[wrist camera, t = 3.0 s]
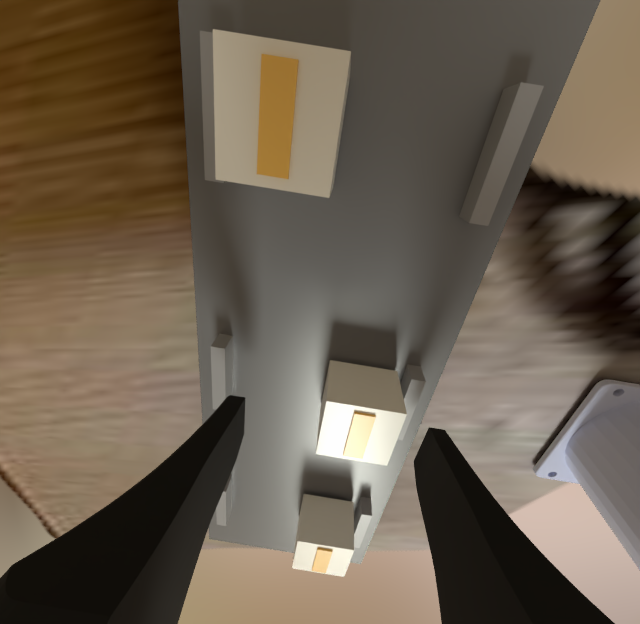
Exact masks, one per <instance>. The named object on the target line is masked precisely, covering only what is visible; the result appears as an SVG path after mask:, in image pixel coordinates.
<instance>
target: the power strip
mask: <svg viewBox="0 0 640 624" xmlns="http://www.w3.org/2000/svg"><path fill="white" fill-rule="evenodd" d="M599 2H600V0H178V9H179V26H180V43H181V60H182V77H183V95H184V112H185V129H186V146H187V163H188V181H189V198H190V215H191V232H192V249H193V267H194V284H195V301H196V318H197V335H198V352H199V370H200V387H201V404H202V421H203V424H204V423H205V421H206V420H207V419H208V418H209V417H210V416H211V415H212V414H213V413H214V412H215V410H216V409H217V408H218V407H219V406H220V405H221V404H222V402H223V401H224V400H225V399H226V397H227V396H229V395H233V396H239V397H245V425H244V436H243V439H242V443H241V446H240V450H239V453H238V456H237V459H236V462H235V464H234V467H233V469H232V472H231V474H230V476H229V479H228V481H227V484H226V486H225V488H224V491H223V493H222V496H221V498H220V500H219V503H218V505H217V507H216V510H215V512H214V515H213V517H212V519H211V522H210V525H209V539H213V540H219V541H225V542H231V543H237V544H243V545H249V546H255V547H261V548H267V549H273V550H280V551H285V552H291V553H294V550H295V542H296V535H297V527H298V520H299V515H300V510H301V505H302V500H303V495H304V494H308V495H314V496H320V497H326V498H332V499H339V500H345V501H351V502H353V503H354V553H353V555H352V558H351V560H350V562H352V563H358V564H361V562H362V560H363V558H364V555H365V553H366V551H367V548H368V546H369V544H370V541H371V539H372V537H373V534H374V532H375V530H376V527H377V525H378V522H379V520H380V518H381V515H382V513H383V511H384V508H385V506H386V504H387V501H388V499H389V497H390V494H391V492H392V490H393V487H394V485H395V482H396V480H397V478H398V475H399V473H400V471H401V468H402V466H403V464H404V461H405V459H406V457H407V454H408V452H409V449H410V447H411V445H412V442H413V440H414V438H415V435H416V433H417V431H418V428H419V426H420V424H421V421H422V419H423V417H424V414H425V412H426V409H427V407H428V405H429V402H430V400H431V398H432V395H433V393H434V391H435V388H436V386H437V384H438V381H439V379H440V377H441V374H442V372H443V369H444V367H445V365H446V362H447V360H448V358H449V355H450V353H451V351H452V348H453V346H454V344H455V341H456V339H457V337H458V334H459V332H460V329H461V327H462V325H463V322H464V320H465V318H466V315H467V313H468V311H469V308H470V306H471V304H472V301H473V299H474V297H475V294H476V292H477V289H478V287H479V285H480V282H481V280H482V278H483V275H484V273H485V271H486V268H487V266H488V264H489V261H490V259H491V256H492V254H493V252H494V249H495V247H496V245H497V242H498V240H499V238H500V235H501V233H502V231H503V228H504V226H505V224H506V221H507V219H508V216H509V214H510V212H511V209H512V207H513V205H514V202H515V200H516V198H517V195H518V193H519V191H520V188H521V186H522V184H523V181H524V179H525V176H526V174H527V172H528V169H529V167H530V165H531V162H532V160H533V158H534V155H535V152H536V151H537V148H538V146H539V144H540V141H541V139H542V136H543V134H544V132H545V129H546V127H547V125H548V122H549V120H550V118H551V115H552V113H553V110H554V108H555V106H556V103H557V101H558V99H559V96H560V94H561V92H562V89H563V87H564V85H565V82H566V80H567V78H568V75H569V73H570V70H571V68H572V66H573V63H574V61H575V59H576V56H577V54H578V52H579V49H580V46H581V45H582V42H583V40H584V37H585V35H586V33H587V31H588V28H589V25H590V23H591V21H592V19H593V16H594V14H595V12H596V9H597V7H598V5H599ZM213 29H216V30H222V31H228V32H235V33H241V34H247V35H253V36H259V37H266V38H272V39H278V40H284V41H290V42H297V43H303V44H309V45H315V46H321V47H328V48H334V49H340V50H346V51H351V65H350V80H349V86H348V93H347V100H346V106H345V113H344V119H343V126H342V133H341V139H340V146H339V152H338V159H337V165H336V172H335V179H334V185H333V189H332V192H331V195H330V197H329V198H326V197H320V196H314V195H308V194H302V193H296V192H289V191H283V190H277V189H271V188H265V187H259V186H252V185H246V184H240V183H234V182H228V181H222V180H216V177H215V125H214V73H213ZM330 360H333V361H339V362H345V363H351V364H357V365H363V366H370V367H376V368H382V369H388V370H394V371H397V372H398V377H399V381H400V385H401V390H402V394H403V399H404V403H405V408H406V412H407V416H406V418H405V421H404V423H403V426H402V429H401V431H400V434H399V436H398V439H397V441H396V444H395V447H394V449H393V452H392V454H391V457H390V460H389V462H388V465H387V466H385V465H379V464H373V463H367V462H361V461H355V460H349V459H343V458H337V457H331V456H325V455H318V454H316V446H317V436H318V427H319V417H320V408H321V403H322V398H323V393H324V388H325V383H326V378H327V373H328V367H329V362H330Z"/></svg>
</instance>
